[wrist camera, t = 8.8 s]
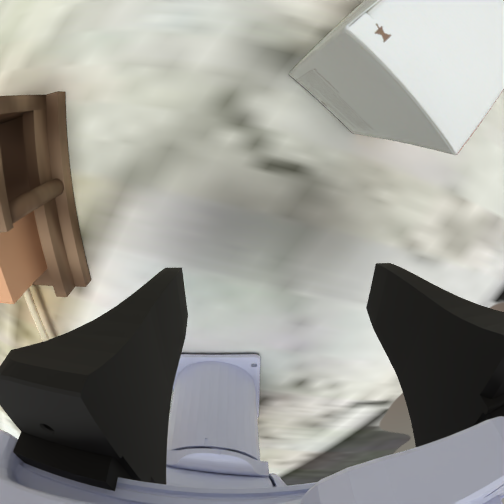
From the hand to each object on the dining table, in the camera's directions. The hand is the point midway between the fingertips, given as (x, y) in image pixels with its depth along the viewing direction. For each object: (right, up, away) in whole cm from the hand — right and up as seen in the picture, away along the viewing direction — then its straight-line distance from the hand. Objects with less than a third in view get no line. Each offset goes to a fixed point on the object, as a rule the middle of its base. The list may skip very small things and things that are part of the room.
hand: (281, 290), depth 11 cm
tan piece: (-19, -2, +9) cm, 22 cm away
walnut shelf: (-19, +6, +7) cm, 21 cm away
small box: (+6, +13, +5) cm, 15 cm away
